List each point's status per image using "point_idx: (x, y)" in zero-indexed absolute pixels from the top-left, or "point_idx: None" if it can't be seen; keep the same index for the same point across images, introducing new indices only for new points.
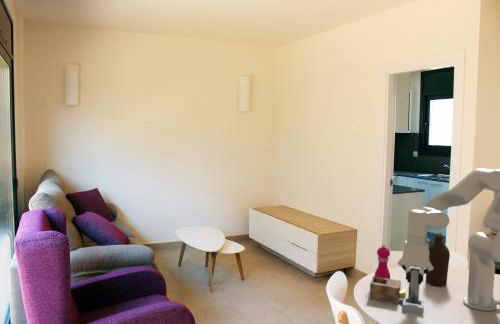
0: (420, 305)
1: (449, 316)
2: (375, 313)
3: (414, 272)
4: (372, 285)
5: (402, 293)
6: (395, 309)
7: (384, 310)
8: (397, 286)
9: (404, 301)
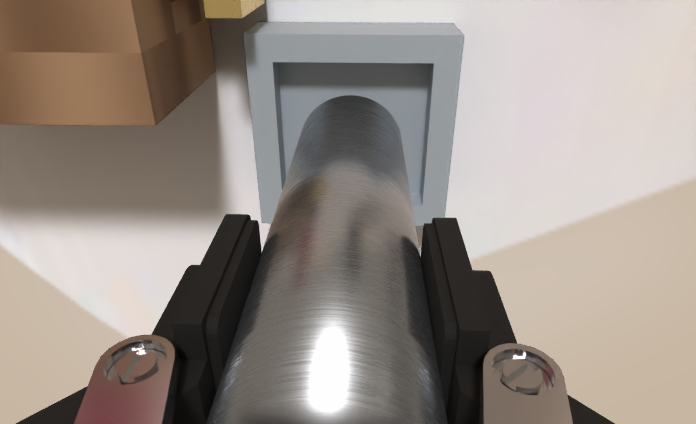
0: (421, 102)
1: (661, 140)
2: (112, 311)
3: None
4: None
5: (212, 14)
6: (218, 194)
7: (149, 245)
8: (115, 62)
9: (267, 150)
